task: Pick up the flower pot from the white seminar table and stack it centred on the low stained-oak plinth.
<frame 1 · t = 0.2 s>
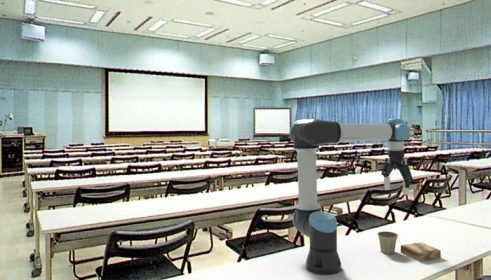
hand: (396, 191, 191), 27 cm above the table, fingers open, 13 cm apart
flower pot: (387, 252, 182), on the table
plinth: (420, 255, 177), on the table
clicker: (414, 248, 188), on the table
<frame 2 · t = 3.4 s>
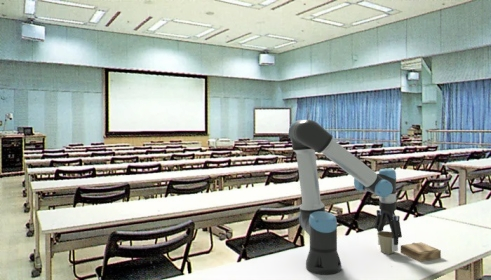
hand: (387, 247, 182), 2 cm above the table, fingers closed on flower pot, 9 cm apart
flower pot: (387, 252, 182), on the table, touching gripper
everything else where it was.
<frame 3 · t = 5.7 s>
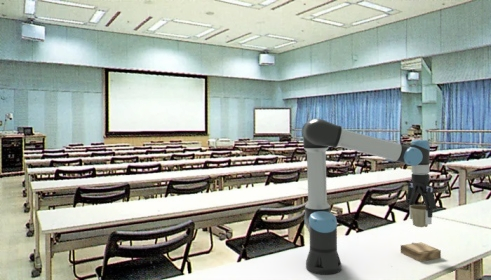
hand: (420, 221, 176), 16 cm above the table, fingers closed on flower pot, 9 cm apart
flower pot: (420, 226, 176), point 14 cm above the table, touching gripper
everything else where it was.
when the fingers open (7 cm above the table, at t = 8.1 s): flower pot drops 1 cm, resting on plinth.
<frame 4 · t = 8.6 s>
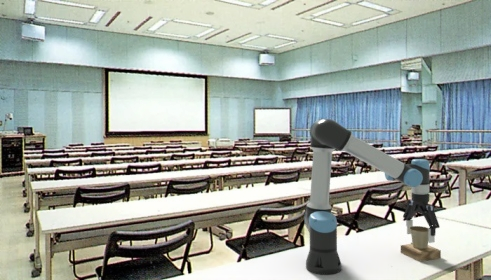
hand: (420, 237, 177), 8 cm above the table, fingers open, 13 cm apart
flower pot: (420, 247, 177), point 4 cm above the table, touching plinth
everything else where it was.
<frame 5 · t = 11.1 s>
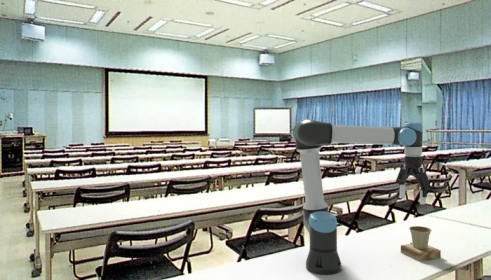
hand: (412, 201, 177), 25 cm above the table, fingers open, 13 cm apart
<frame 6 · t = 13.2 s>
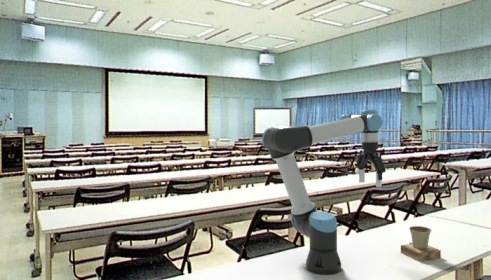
hand: (370, 184, 187), 32 cm above the table, fingers open, 13 cm apart
at the end: flower pot 0.1 cm from the plinth (horizontally); flower pot inside the target area on the plinth (0.1 cm from its centre), point 3.6 cm above the plinth's base; flower pot tilted 0° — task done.
